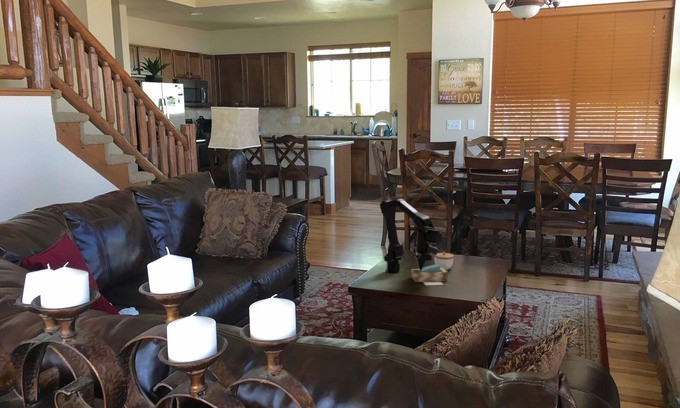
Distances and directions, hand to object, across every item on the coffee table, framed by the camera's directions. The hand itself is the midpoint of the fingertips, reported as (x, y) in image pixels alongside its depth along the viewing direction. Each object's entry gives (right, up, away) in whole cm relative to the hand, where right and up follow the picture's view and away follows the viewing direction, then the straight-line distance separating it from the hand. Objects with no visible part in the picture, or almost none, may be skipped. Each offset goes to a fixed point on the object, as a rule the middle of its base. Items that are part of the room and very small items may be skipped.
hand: (420, 269), depth 294 cm
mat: (+5, -7, -7) cm, 11 cm away
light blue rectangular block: (+5, -3, +1) cm, 6 cm away
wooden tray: (+5, -5, +1) cm, 8 cm away
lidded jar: (+16, -2, +22) cm, 28 cm away
